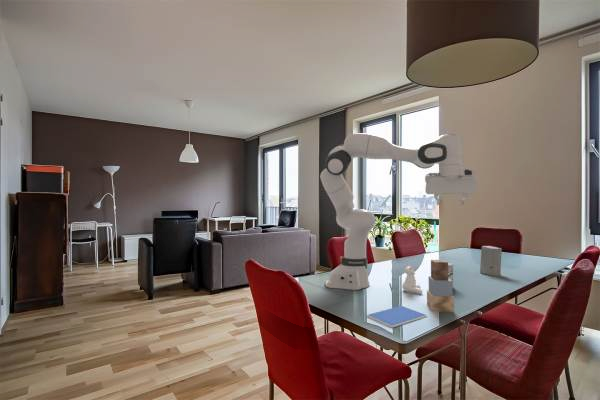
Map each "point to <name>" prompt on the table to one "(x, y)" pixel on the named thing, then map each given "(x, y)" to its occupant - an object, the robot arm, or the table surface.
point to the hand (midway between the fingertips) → (450, 204)
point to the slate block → (440, 287)
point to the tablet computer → (396, 316)
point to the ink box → (450, 272)
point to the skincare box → (490, 260)
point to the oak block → (440, 303)
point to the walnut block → (439, 269)
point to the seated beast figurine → (411, 282)
